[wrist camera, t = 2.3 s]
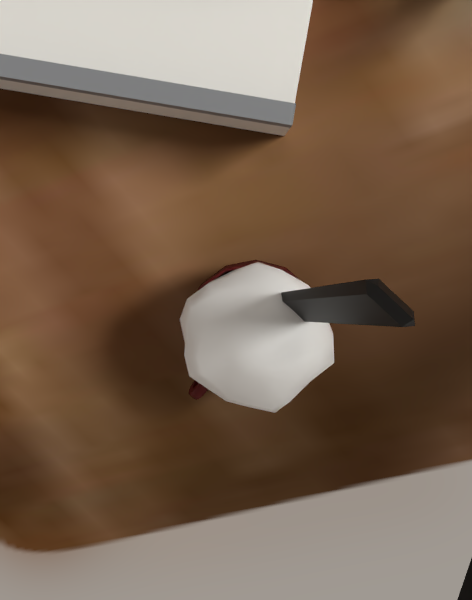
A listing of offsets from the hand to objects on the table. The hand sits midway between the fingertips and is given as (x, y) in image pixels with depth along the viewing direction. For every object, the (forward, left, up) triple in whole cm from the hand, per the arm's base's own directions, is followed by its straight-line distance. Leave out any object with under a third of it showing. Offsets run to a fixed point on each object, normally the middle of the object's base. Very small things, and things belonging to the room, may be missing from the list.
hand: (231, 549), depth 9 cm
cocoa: (-1, -1, -16) cm, 16 cm away
